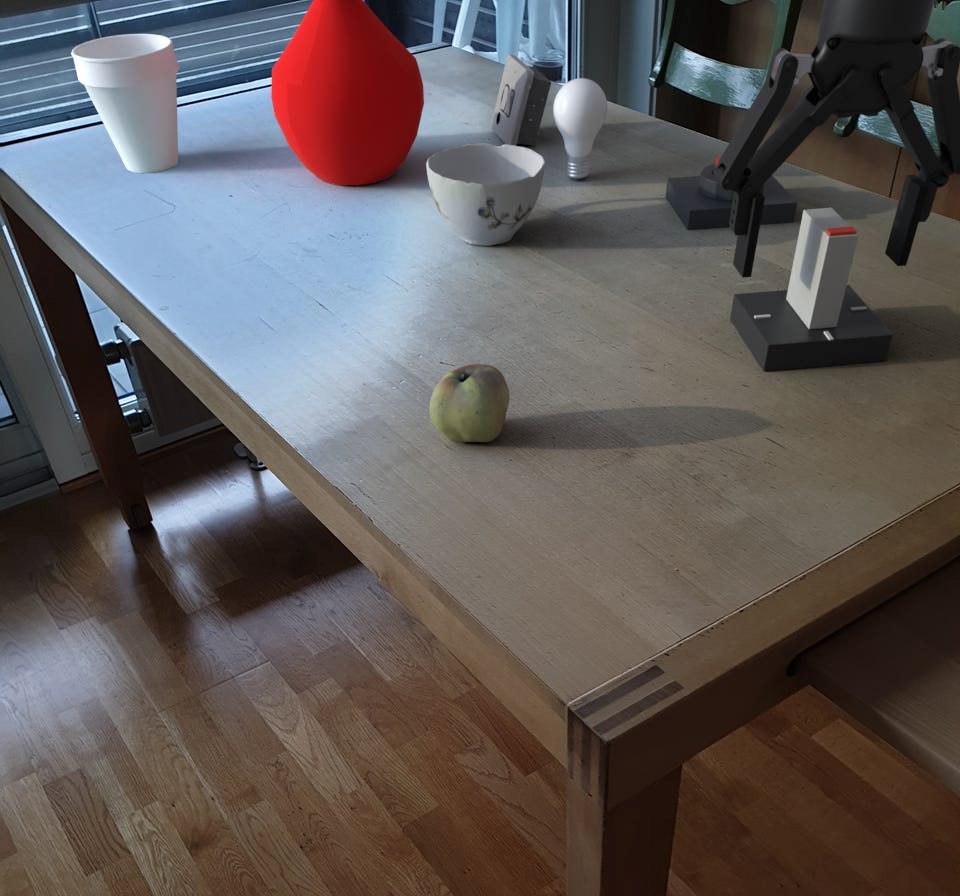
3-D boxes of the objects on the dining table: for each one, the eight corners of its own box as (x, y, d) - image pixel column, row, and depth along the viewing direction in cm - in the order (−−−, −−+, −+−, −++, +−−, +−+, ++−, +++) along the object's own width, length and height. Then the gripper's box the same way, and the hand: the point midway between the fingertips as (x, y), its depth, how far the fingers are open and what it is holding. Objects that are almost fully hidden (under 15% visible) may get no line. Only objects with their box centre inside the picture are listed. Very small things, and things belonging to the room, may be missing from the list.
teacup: (556, 252, 103) (557, 174, 98) (441, 265, 102) (436, 187, 96) (524, 201, 114) (524, 128, 108) (420, 213, 112) (414, 139, 107)
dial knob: (785, 299, 88) (804, 206, 82) (812, 297, 88) (832, 204, 82) (808, 329, 84) (829, 234, 78) (836, 327, 84) (859, 231, 78)
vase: (275, 158, 127) (227, -128, 106) (410, 141, 131) (388, -141, 110) (296, 208, 115) (245, -107, 94) (444, 187, 118) (427, -121, 97)
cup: (177, 181, 122) (148, 60, 113) (88, 179, 124) (51, 59, 115) (212, 149, 131) (188, 33, 121) (128, 147, 133) (98, 32, 123)
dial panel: (842, 309, 92) (849, 282, 90) (886, 361, 84) (894, 333, 83) (729, 318, 91) (733, 291, 89) (763, 372, 84) (768, 344, 82)
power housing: (765, 190, 114) (771, 154, 111) (793, 222, 107) (800, 185, 104) (665, 197, 113) (668, 161, 110) (687, 231, 106) (691, 193, 103)
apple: (537, 446, 77) (538, 379, 73) (440, 463, 76) (435, 396, 71) (517, 408, 81) (516, 343, 77) (424, 423, 80) (418, 358, 76)
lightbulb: (541, 181, 118) (542, 81, 110) (572, 166, 122) (575, 68, 114) (582, 192, 115) (587, 90, 107) (613, 177, 118) (619, 76, 111)
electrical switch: (490, 130, 133) (495, 53, 126) (525, 129, 134) (532, 53, 128) (509, 152, 126) (515, 72, 120) (546, 151, 128) (554, 72, 121)
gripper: (1027, -50, 71) (939, 237, 86) (698, -33, 70) (666, 257, 85) (1083, -30, 66) (979, 273, 81) (728, -10, 65) (688, 294, 80)
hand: (818, 265), depth 83 cm, fingers open, 13 cm apart
